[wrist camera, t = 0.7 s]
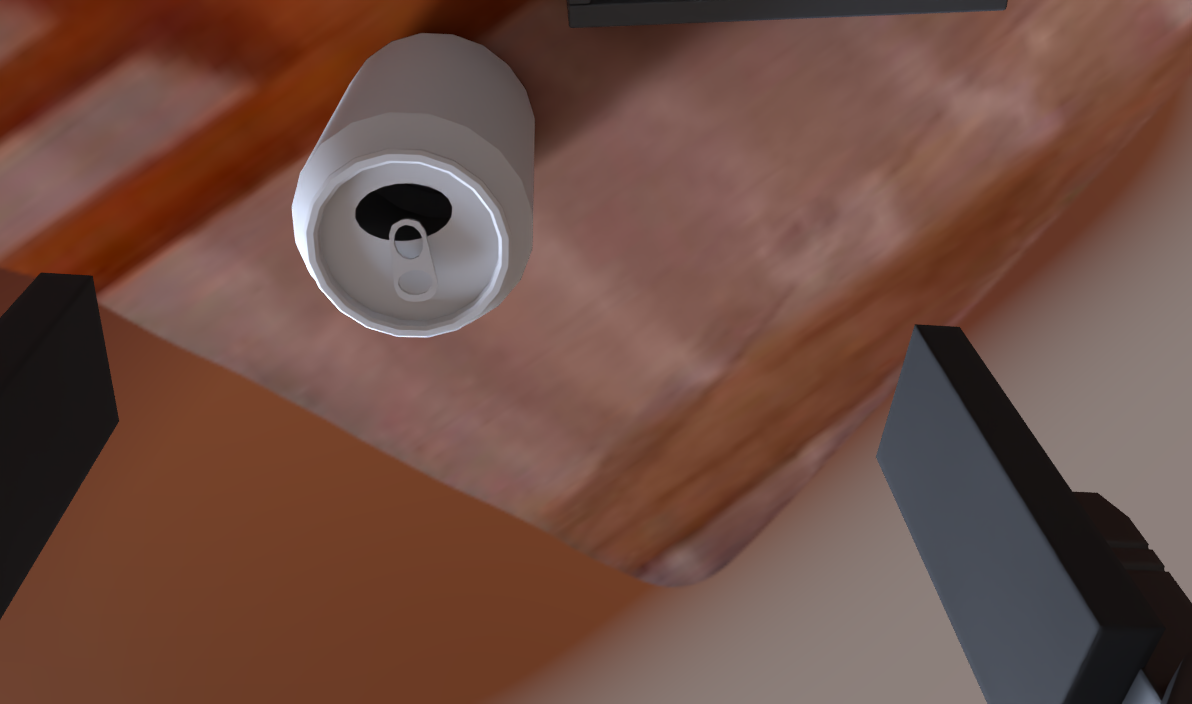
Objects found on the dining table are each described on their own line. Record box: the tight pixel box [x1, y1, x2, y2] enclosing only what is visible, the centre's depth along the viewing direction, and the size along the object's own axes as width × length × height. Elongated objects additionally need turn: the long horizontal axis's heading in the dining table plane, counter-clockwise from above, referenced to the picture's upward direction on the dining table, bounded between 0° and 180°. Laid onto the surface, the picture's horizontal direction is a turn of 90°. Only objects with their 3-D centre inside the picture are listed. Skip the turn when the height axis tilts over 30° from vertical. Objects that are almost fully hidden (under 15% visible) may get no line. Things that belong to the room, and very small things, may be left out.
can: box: [292, 33, 535, 337], centre depth 36 cm, size 8×8×12 cm
